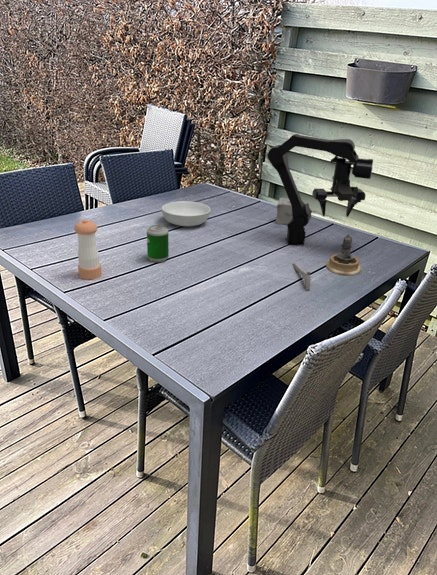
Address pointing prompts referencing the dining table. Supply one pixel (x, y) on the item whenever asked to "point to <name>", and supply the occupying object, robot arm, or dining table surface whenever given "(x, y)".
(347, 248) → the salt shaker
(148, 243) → the soda can
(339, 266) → the dish
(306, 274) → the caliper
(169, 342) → the dining table surface
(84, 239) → the pepper shaker
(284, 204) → the incense holder
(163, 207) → the serving bowl
